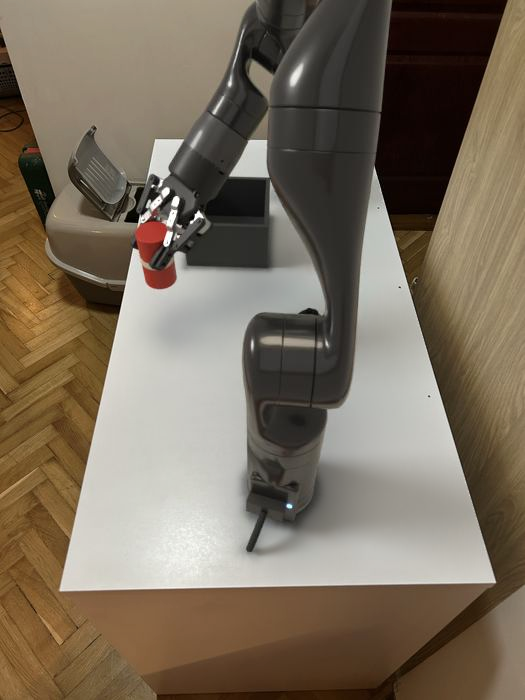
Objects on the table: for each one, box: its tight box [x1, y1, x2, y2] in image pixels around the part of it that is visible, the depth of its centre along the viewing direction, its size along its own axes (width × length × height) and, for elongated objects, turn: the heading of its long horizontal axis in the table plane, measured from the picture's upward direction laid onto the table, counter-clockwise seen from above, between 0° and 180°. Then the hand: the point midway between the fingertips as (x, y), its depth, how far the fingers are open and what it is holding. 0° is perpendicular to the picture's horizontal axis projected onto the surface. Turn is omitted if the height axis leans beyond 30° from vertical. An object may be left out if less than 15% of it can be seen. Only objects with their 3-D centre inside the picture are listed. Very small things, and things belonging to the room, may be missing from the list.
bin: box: [185, 175, 271, 269], centre depth 104 cm, size 16×16×10 cm
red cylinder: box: [134, 221, 178, 290], centre depth 78 cm, size 5×5×9 cm
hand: (145, 257), depth 77 cm, fingers closed on red cylinder, 4 cm apart
